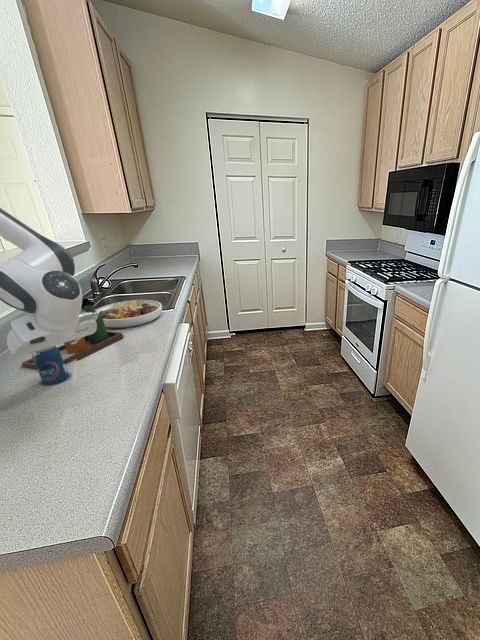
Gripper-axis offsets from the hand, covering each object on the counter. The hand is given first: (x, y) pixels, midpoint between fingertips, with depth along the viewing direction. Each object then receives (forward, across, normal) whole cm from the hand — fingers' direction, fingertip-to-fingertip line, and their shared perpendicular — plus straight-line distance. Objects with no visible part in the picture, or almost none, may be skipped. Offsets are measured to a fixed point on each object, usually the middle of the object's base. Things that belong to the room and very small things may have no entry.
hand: (54, 347), depth 94 cm
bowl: (+44, -46, -23) cm, 68 cm away
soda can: (+17, 0, +4) cm, 17 cm away
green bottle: (+32, -24, -12) cm, 42 cm away
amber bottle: (+30, -14, -10) cm, 35 cm away
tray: (+30, -14, -10) cm, 35 cm away
